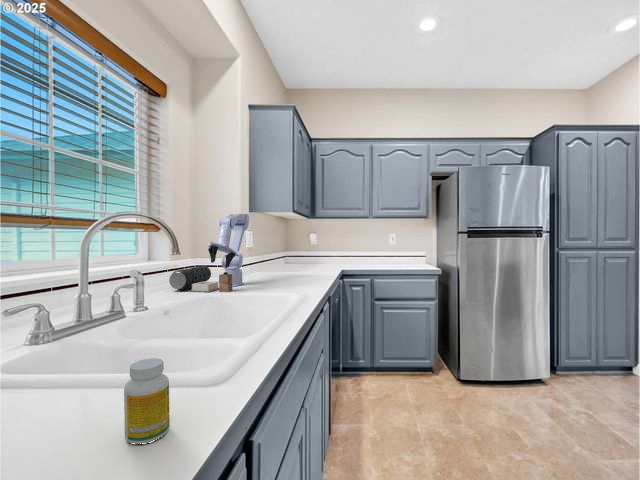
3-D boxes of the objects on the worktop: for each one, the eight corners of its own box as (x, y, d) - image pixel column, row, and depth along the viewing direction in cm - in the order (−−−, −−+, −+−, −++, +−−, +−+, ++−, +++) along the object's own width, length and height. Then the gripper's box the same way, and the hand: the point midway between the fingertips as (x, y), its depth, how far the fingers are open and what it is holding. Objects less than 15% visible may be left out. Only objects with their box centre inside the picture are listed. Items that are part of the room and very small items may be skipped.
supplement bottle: (119, 435, 45) (117, 364, 45) (160, 419, 49) (159, 353, 49) (133, 452, 42) (131, 375, 41) (176, 433, 46) (175, 362, 45)
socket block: (202, 288, 170) (202, 281, 169) (220, 289, 167) (220, 281, 167) (189, 291, 160) (189, 284, 160) (208, 292, 157) (208, 284, 157)
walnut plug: (224, 290, 163) (223, 271, 163) (232, 290, 162) (232, 271, 162) (219, 291, 159) (218, 272, 159) (227, 292, 158) (227, 272, 158)
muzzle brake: (211, 283, 187) (211, 265, 187) (187, 292, 159) (186, 270, 159) (195, 283, 188) (194, 265, 188) (167, 292, 160) (167, 270, 160)
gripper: (215, 230, 158) (210, 257, 152) (241, 242, 167) (238, 267, 161) (207, 236, 162) (202, 261, 156) (233, 246, 172) (229, 271, 165)
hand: (220, 264), depth 159 cm, fingers open, 7 cm apart
